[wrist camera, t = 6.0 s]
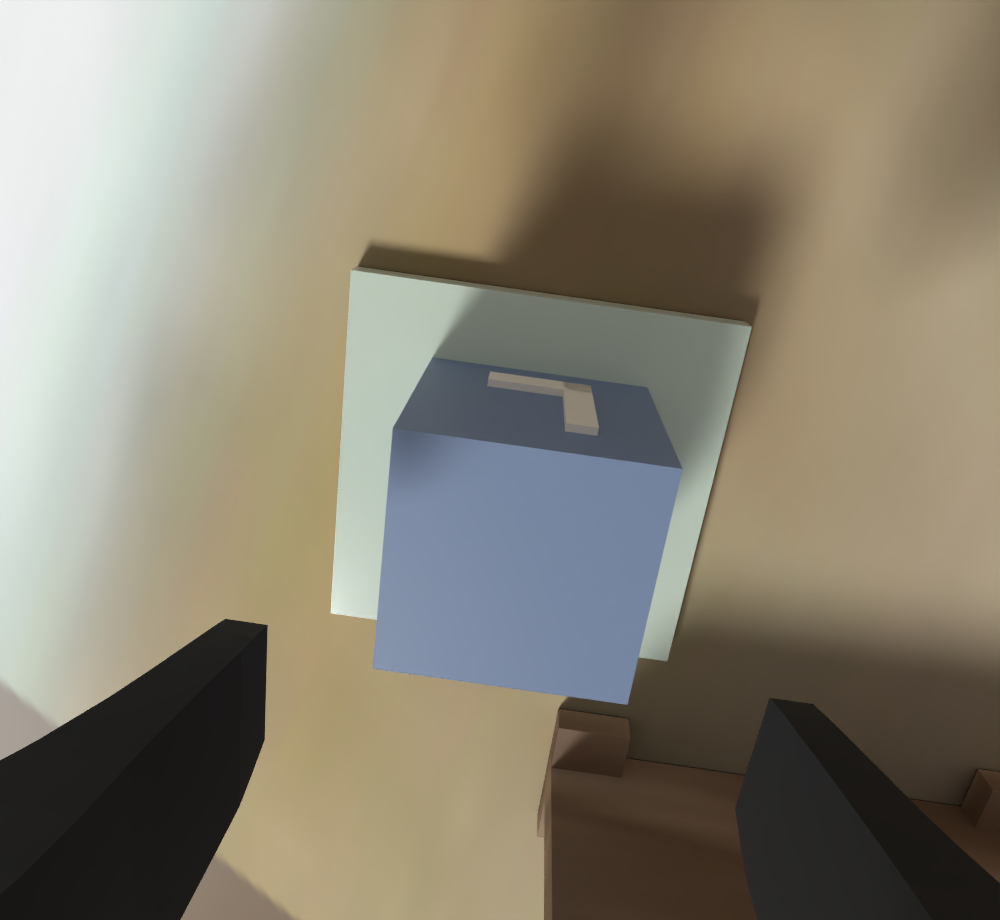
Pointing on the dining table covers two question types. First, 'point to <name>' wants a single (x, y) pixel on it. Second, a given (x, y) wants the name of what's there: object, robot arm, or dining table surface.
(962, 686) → the dining table surface
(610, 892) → the brown wooden bar
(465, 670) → the cube
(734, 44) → the dining table surface
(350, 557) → the tile
